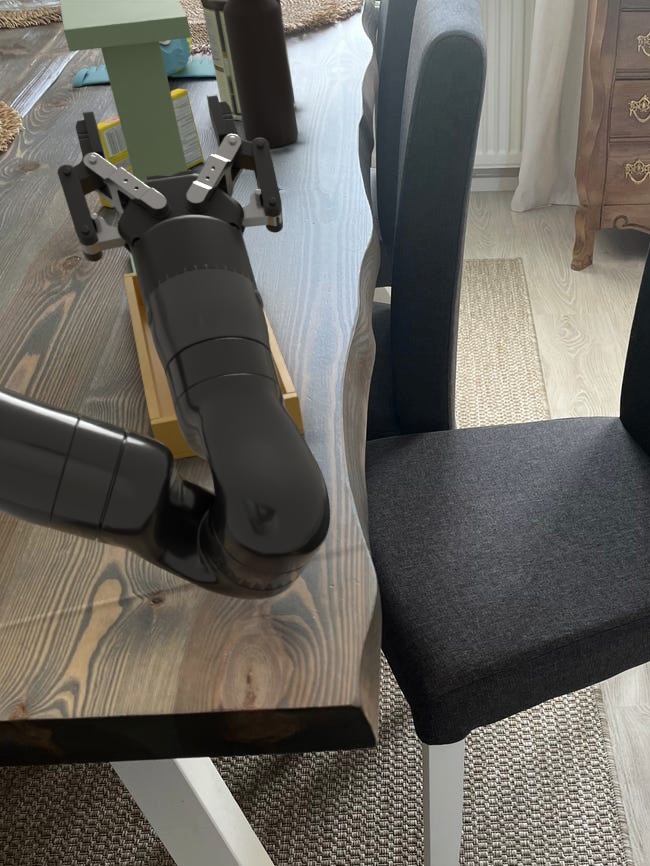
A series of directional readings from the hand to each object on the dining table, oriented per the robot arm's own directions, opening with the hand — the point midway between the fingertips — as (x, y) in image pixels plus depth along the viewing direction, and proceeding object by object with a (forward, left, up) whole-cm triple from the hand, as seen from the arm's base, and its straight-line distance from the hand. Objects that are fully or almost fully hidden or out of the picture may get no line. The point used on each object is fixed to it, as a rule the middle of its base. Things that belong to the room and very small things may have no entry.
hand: (152, 111), depth 71 cm
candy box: (-18, +48, -23) cm, 56 cm away
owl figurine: (-26, +88, -23) cm, 95 cm away
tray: (-2, +5, -23) cm, 23 cm away
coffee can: (-10, +74, -23) cm, 78 cm away
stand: (-9, +25, -23) cm, 35 cm away
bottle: (-6, +62, -23) cm, 66 cm away
